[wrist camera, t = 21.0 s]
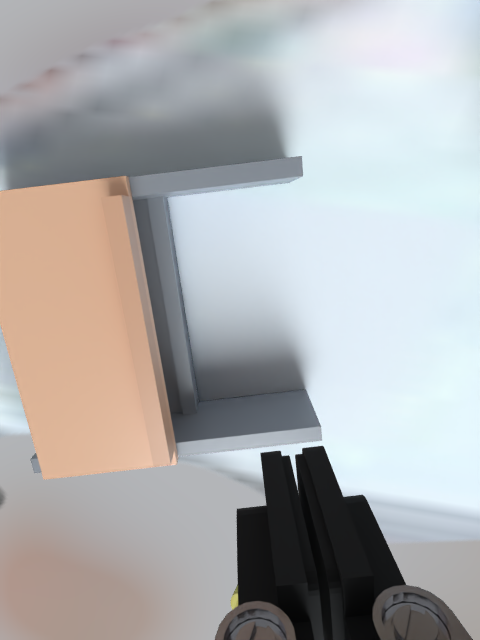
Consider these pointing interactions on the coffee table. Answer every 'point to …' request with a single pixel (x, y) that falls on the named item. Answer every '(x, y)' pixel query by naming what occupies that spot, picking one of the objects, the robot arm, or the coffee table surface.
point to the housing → (172, 333)
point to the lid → (82, 329)
